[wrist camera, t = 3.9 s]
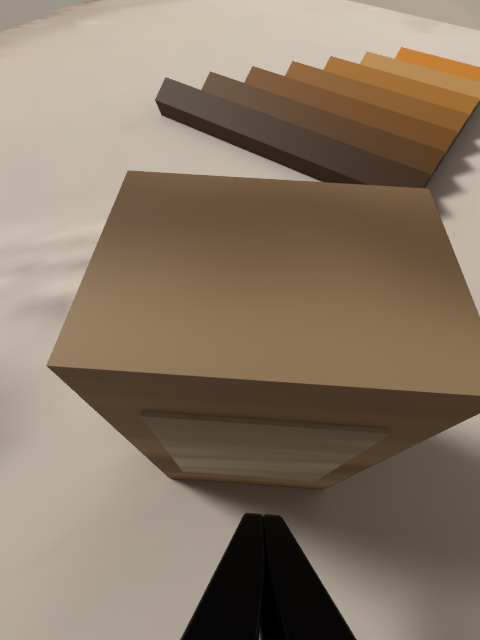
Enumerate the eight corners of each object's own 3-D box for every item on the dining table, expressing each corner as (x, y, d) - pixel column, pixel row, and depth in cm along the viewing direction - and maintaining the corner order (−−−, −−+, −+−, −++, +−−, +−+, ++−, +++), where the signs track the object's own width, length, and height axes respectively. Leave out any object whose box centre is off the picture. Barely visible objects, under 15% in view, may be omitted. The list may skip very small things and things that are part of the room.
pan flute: (159, 123, 33) (401, 225, 26) (152, 84, 30) (422, 186, 23) (287, 46, 44) (480, 102, 37) (290, 13, 42) (500, 66, 34)
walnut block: (323, 491, 15) (514, 404, 5) (168, 480, 15) (43, 371, 5) (316, 385, 18) (429, 188, 8) (186, 376, 18) (127, 170, 8)
